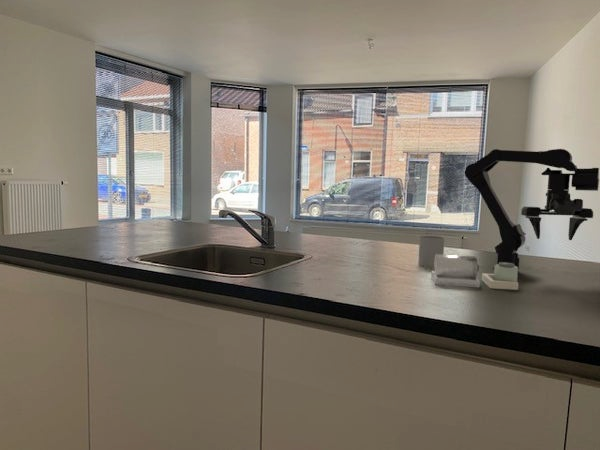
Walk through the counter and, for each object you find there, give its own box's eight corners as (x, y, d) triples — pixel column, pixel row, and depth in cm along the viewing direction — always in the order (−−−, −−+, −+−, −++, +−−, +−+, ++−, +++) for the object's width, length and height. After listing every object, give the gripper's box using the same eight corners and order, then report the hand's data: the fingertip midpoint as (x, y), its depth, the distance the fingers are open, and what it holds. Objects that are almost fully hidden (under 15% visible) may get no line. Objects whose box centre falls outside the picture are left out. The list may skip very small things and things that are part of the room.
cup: (443, 263, 152) (444, 236, 151) (442, 267, 145) (444, 239, 144) (419, 261, 155) (420, 235, 154) (417, 265, 147) (418, 237, 146)
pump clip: (490, 288, 117) (490, 281, 117) (481, 279, 127) (482, 273, 127) (517, 289, 116) (518, 282, 115) (507, 281, 126) (507, 274, 125)
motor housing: (435, 284, 120) (436, 257, 119) (431, 277, 130) (432, 251, 129) (481, 287, 118) (483, 259, 117) (473, 279, 127) (475, 253, 126)
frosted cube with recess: (496, 287, 119) (498, 265, 118) (491, 282, 124) (492, 261, 124) (519, 288, 117) (520, 266, 117) (512, 283, 123) (514, 262, 123)
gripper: (534, 189, 124) (530, 241, 126) (604, 191, 121) (599, 244, 122) (522, 189, 135) (519, 237, 137) (586, 190, 131) (582, 239, 133)
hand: (554, 239), depth 132 cm, fingers open, 9 cm apart
